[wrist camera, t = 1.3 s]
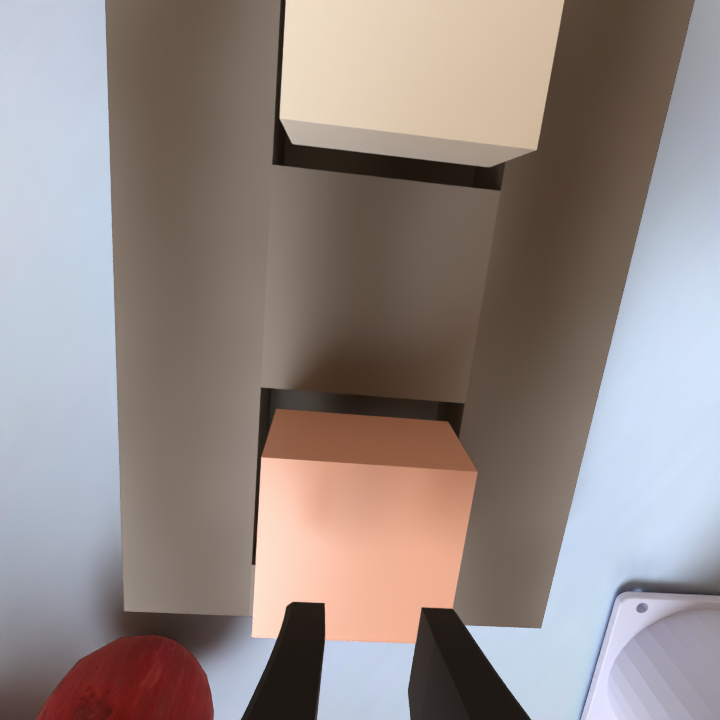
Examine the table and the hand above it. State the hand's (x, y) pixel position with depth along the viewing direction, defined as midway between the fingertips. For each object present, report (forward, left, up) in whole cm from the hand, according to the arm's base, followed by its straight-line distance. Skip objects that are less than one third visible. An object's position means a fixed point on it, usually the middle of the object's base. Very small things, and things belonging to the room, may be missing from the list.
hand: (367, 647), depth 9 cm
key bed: (0, -6, -9) cm, 11 cm away
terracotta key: (0, 0, -6) cm, 6 cm away
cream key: (0, -12, -6) cm, 13 cm away
